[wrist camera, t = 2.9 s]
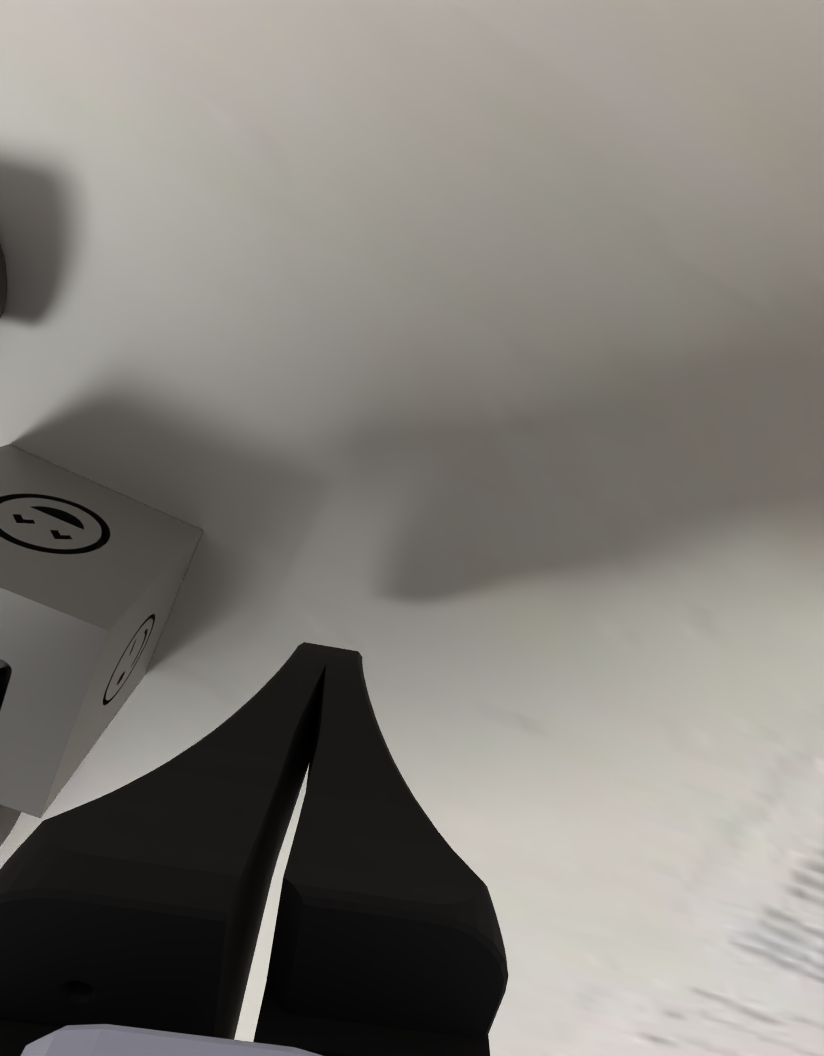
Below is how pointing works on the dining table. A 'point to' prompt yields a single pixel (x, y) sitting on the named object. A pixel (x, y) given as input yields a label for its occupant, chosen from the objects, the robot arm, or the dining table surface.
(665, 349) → the dining table surface
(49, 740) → the dice cube
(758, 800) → the dining table surface
